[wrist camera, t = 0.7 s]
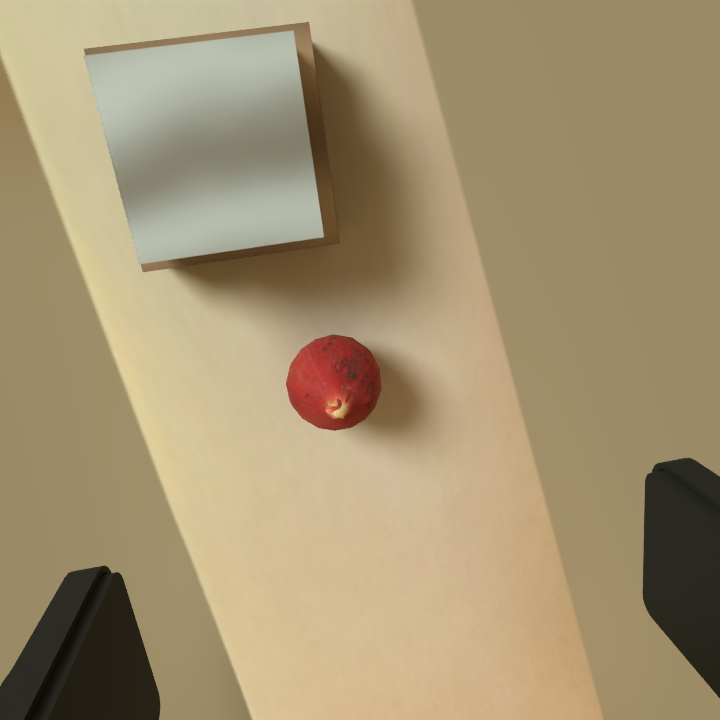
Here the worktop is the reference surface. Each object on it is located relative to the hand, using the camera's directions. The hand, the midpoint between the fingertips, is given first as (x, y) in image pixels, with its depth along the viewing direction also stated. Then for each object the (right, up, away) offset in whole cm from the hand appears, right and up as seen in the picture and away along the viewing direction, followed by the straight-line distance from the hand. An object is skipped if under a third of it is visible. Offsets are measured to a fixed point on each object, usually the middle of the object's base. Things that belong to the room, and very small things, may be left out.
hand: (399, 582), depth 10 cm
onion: (-3, +4, +29) cm, 29 cm away
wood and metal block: (-9, +16, +24) cm, 30 cm away
